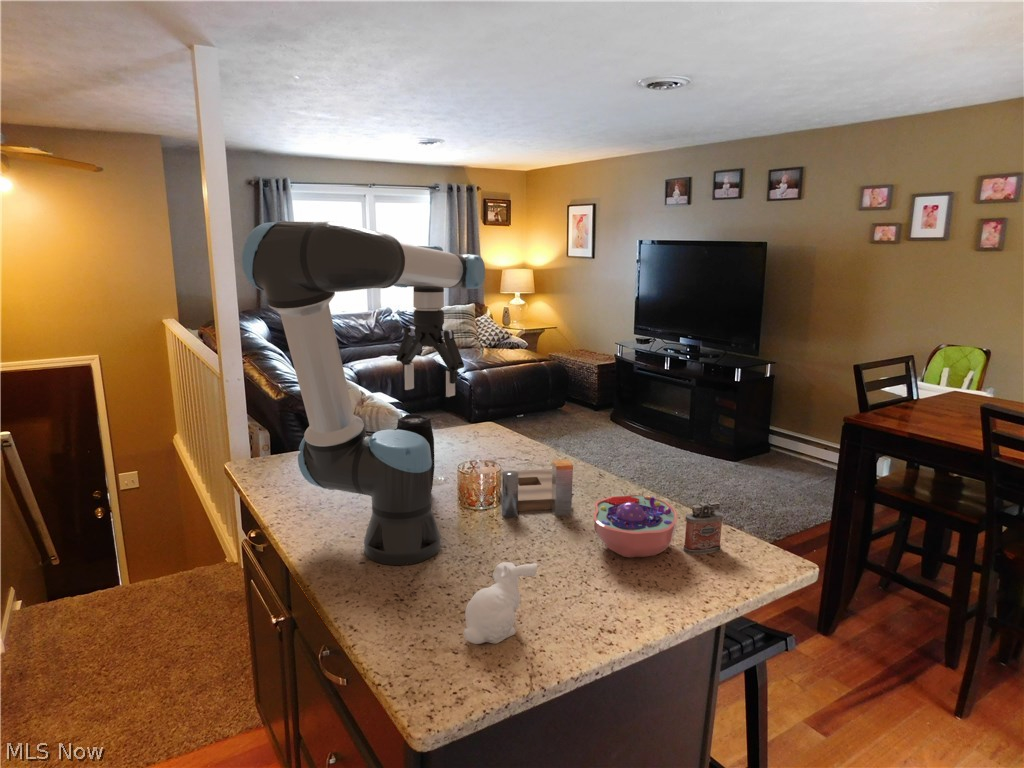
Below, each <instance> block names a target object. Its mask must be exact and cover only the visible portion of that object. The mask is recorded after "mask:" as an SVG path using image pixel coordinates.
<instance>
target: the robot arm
mask: <svg viewBox="0 0 1024 768" xmlns="http://www.w3.org/2000/svg"><path fill="white" fill-rule="evenodd" d="M241 267H242V271H243V273H244V274H243V275H244V277H245V278H246V281H248V283H249V284H251V285H252V286H253V287H254V288H256V289H258V290H260V291H264V294H265V297H266V302H267V305H268V307H269V308H270V309H272V310H274V311H276V312H277V313H279V315H280V319H281V322H282V326H283V330H284V334H285V337H286V338H285V339H286V341H287V344H288V349H289V352H290V353H289V354H290V356H291V360H292V364H293V368H294V372H295V375H296V380H297V383H298V386H299V391H300V394H301V398H302V401H303V405H304V409H305V413H306V417H307V421H308V425H309V426H308V427H307V428H306V430H305V431H304V433H303V438H302V440H301V442H300V444H299V446H298V450H299V451H300V452H299V453H297V465H298V468H299V471H300V473H301V476H302V477H303V478H304V480H306V482H308V483H309V484H311V485H314V487H315V486H316V487H319V488H322V489H325V490H328V491H329V490H330V491H331V490H332V491H333V490H336V491H341V492H348V493H352V494H359V495H365V496H370V497H371V508H372V509H371V510H372V511H371V517H370V519H369V523H368V526H367V528H366V531H365V536H364V540H363V545H364V548H363V550H364V554H365V556H366V557H368V558H369V560H371V561H373V562H376V563H379V564H382V565H387V566H388V565H389V566H406V565H407V566H408V565H412V564H417V563H421V562H424V561H426V560H429V559H431V558H433V557H434V556H435V555H436V554H438V553H439V551H440V550H441V543H442V542H441V538H442V537H441V533H440V530H439V527H438V525H437V522H436V519H435V516H434V513H433V510H432V491H431V466H432V459H431V451H430V445H429V443H428V442H427V440H426V439H425V438H424V437H422V436H421V435H419V434H416V433H413V432H410V431H406V430H397V429H395V430H394V429H390V428H389V429H382V430H378V431H376V432H374V433H372V435H368V434H367V432H366V429H365V424H364V420H363V419H362V418H361V417H359V416H357V415H355V414H354V411H353V406H352V401H351V396H350V392H349V388H348V383H347V379H346V375H345V370H344V367H343V362H342V356H341V352H340V349H339V343H338V339H337V335H336V330H335V326H334V322H333V318H332V317H333V316H332V314H331V309H330V302H331V301H332V300H333V298H334V297H335V296H336V293H339V292H350V291H351V292H353V291H360V290H367V289H368V290H370V289H388V288H391V287H397V288H408V287H411V288H412V287H413V305H412V306H413V308H414V310H413V324H414V325H415V326H414V325H411V326H406V327H405V328H404V337H403V339H402V342H401V345H400V348H399V349H398V352H397V355H396V358H395V359H396V361H397V362H400V363H401V364H402V375H403V377H404V390H405V391H410V390H413V389H415V372H414V371H415V370H414V368H415V366H414V363H413V360H414V359H415V357H416V356H417V354H419V352H420V351H421V350H422V347H428V348H433V349H434V350H436V351H437V353H438V354H439V356H440V358H441V359H442V361H443V363H444V364H445V366H446V367H447V370H445V398H450V397H454V396H456V383H458V370H460V369H464V368H465V364H464V361H463V358H462V356H461V353H460V351H459V347H458V345H457V343H456V340H455V332H454V330H453V329H446V330H444V328H443V326H444V324H445V311H444V310H443V308H444V307H445V293H444V291H445V289H461V290H463V289H464V290H470V289H471V290H474V289H475V290H476V289H479V288H480V287H482V286H483V284H484V281H485V277H486V276H485V275H486V266H485V261H484V260H483V258H482V256H480V255H478V254H469V253H467V254H463V253H462V254H460V253H453V252H448V251H444V249H443V247H442V246H439V245H413V244H408V243H403V242H400V241H399V240H398V239H397V238H396V237H395V236H392V235H391V234H387V233H384V232H379V231H377V230H376V231H375V230H372V229H369V228H364V227H362V226H357V225H353V224H349V223H344V222H341V221H340V222H339V221H290V220H289V221H288V220H281V221H274V222H273V221H272V222H264V223H262V224H259V225H257V226H256V227H255V228H253V230H251V231H250V233H249V234H248V235H247V237H246V242H244V243H243V248H242V252H241ZM415 336H416V338H415Z"/></svg>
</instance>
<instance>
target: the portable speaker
mask: <svg viewBox="0 0 1024 768" xmlns="http://www.w3.org/2000/svg"><path fill="white" fill-rule="evenodd" d="M396 424H397V426H396V430H406V431H410V432H413V433H416V434H419V435H421V436H422V437H424V438H425V439H426V440H427V442H428V443H429V445H430V451H431V459H432V466H431V492H432V490H433V487H434V486H433V484H434V478H435V477H434V474H435V465H436V464H435V437H434V433H433V428H432V427H433V426H432V422H431V417H429V416H426V415H422V414H421V413H408V414H405V415H404V416H402V417H401V418H397V423H396Z"/></svg>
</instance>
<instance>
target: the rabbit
mask: <svg viewBox="0 0 1024 768" xmlns="http://www.w3.org/2000/svg"><path fill="white" fill-rule="evenodd" d="M537 573H538V563H537V562H536V563H535V562H534V563H527V564H521V565H517V566H516V564H515V563H513V562H509V561H508V562H505V561H503V562H500V563H498V564H497V565H496V566H495V568H494V571H493V573H492V579H493V580H494V583H493V584H492V585H491V586H489V587H484V588H480V589H479V590H478V591H476V592H475V593H474V595H473V596H472V597H471V599H470V600H469V601H468V603H467V605H466V607H465V612H464V614H465V617H464V619H465V627H466V628H465V629H464V630H463V636H464V640H466V641H467V642H469V643H471V644H476V645H481V644H484V643H490V644H499V643H500V642H503V641H504V640H505V639H508V638H509V637H513V636H514V635H516V633H517V631H516V629H515V627H514V625H515V621H516V612H515V611H517V609H518V608H519V606H520V603H521V593H520V590H519V588H518V584H519V581H520V577H519V576H521V577H529V578H530V577H532V578H533V577H535V576H536V575H537Z"/></svg>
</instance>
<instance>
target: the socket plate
mask: <svg viewBox="0 0 1024 768" xmlns="http://www.w3.org/2000/svg"><path fill="white" fill-rule="evenodd" d="M500 471H501V488H500V499H499V502H500V501H501V502H500V504H501V506H502V473H503V472H504V471H505V470H504V471H503V470H500ZM515 471H516V472H518V512H521V511H537V510H539V511H541V510H551V498H552V469H551V468H549V469H548V468H545V469H544V468H543V469H526V470H523V469H522V470H515Z"/></svg>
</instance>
